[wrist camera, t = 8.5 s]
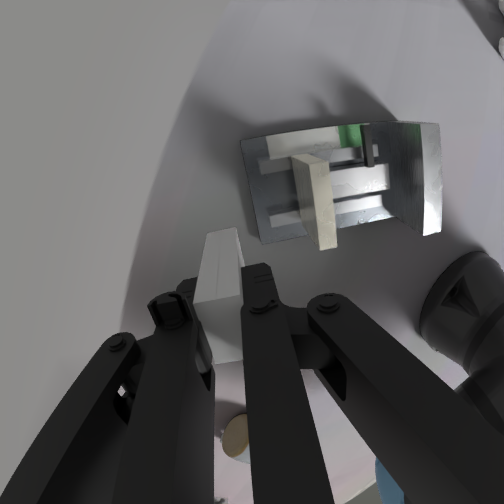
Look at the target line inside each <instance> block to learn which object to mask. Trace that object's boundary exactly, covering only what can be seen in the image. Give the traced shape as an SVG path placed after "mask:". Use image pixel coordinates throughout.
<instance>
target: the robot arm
mask: <svg viewBox="0 0 504 504" xmlns="http://www.w3.org/2000/svg"><path fill="white" fill-rule="evenodd" d="M147 307H148V309H149V311H150V314H151V316H152V318H153V320H154V323H155V325H156V328H155V331H154V334H153V335H151V336H149V337H146V338H143V339H141V340H138V341H136V339H135V337H134V336H133V335H132V334H131V333H128V332H123V333H117V334H115V335H112V336H111V337H110V338H108V339H107V340H106V341H105V342H104V343H103V344H102V345H101V347H100V348H99V350H98V351H97V352H96V353H95V355H94V356H93V357H92V359H91V360H90V361H89V363H88V364H87V366H86V367H85V368H84V369H83V371H82V372H81V373H80V375H79V376H78V377H77V379H76V380H75V382H74V383H73V384H72V386H71V387H70V389H69V390H68V391H67V393H66V394H65V396H64V397H63V398H62V400H61V401H60V403H59V404H58V406H57V407H56V409H55V410H54V411H53V413H52V414H51V416H50V417H49V419H48V420H47V422H46V423H45V425H44V426H43V428H42V429H41V431H40V432H39V434H38V435H37V437H36V438H35V440H34V442H33V443H32V445H31V446H30V448H29V450H28V451H27V452H26V454H25V456H24V457H23V459H22V461H21V462H20V464H19V465H18V467H17V469H16V471H15V472H14V474H13V475H12V478H11V479H10V481H9V482H8V484H7V486H6V488H5V489H4V491H3V493H2V495H1V497H0V504H214V407H215V372H214V369H213V366H212V364H211V362H212V356H213V359H214V361H215V364H222V363H228V362H234V361H240V360H243V365H244V381H245V395H246V410H247V424H248V438H249V451H250V464H251V476H252V488H253V500H254V504H335V503H334V499H333V495H332V490H331V486H330V482H329V478H328V474H327V470H326V467H325V463H324V459H323V455H322V451H321V447H320V443H319V439H318V435H317V431H316V428H315V424H314V420H313V416H312V412H311V408H310V405H309V401H308V397H307V393H306V390H305V386H304V382H303V378H302V375H301V371H300V369H313V370H314V372H315V374H316V375H317V377H318V378H319V380H320V381H321V382H322V384H323V385H324V387H325V388H326V389H327V391H328V392H329V393H330V395H331V396H332V398H333V399H334V400H335V402H336V403H337V404H338V406H339V407H340V408H341V410H342V411H343V413H344V414H345V415H346V417H347V418H348V419H349V421H350V422H351V423H352V425H353V426H354V427H355V429H356V430H357V431H358V433H359V434H360V436H361V437H362V438H363V440H364V441H365V442H366V444H367V445H368V446H369V448H370V449H371V450H372V452H373V453H374V454H375V456H376V461H375V467H376V468H375V473H376V481H377V486H378V491H379V494H380V497H381V500H382V503H383V504H504V272H503V270H502V268H501V266H500V265H499V263H498V262H497V261H496V260H494V259H493V258H491V257H490V256H489V255H487V254H486V253H483V252H472V253H469V254H466V255H464V256H463V257H461V258H459V259H458V260H457V261H455V262H454V263H453V264H452V265H451V266H450V267H449V268H448V269H447V270H446V271H445V272H444V273H443V274H442V275H441V276H440V278H439V279H438V280H437V282H436V283H435V285H434V286H433V288H432V289H431V291H430V293H429V295H428V297H427V299H426V301H425V303H424V306H423V309H422V312H421V317H420V332H421V335H422V337H423V338H424V340H425V341H426V342H427V343H428V345H429V346H430V347H431V348H432V349H433V350H434V351H436V352H438V353H442V354H444V355H445V356H447V357H448V358H450V359H451V360H453V361H454V362H456V363H458V364H459V365H461V366H462V367H463V369H464V370H465V371H466V372H467V374H468V375H469V377H468V378H467V379H466V380H465V381H464V382H463V383H462V384H460V385H459V386H458V387H457V388H456V389H454V390H453V389H451V388H450V387H449V386H448V385H447V384H446V383H445V382H444V381H443V380H441V379H440V378H439V377H438V376H437V375H436V374H435V373H434V372H432V371H431V370H430V369H429V368H428V367H427V366H426V365H425V364H423V363H422V362H421V361H420V360H419V359H418V358H417V357H415V356H414V355H413V354H412V353H411V352H410V351H409V350H407V349H406V348H405V347H404V346H403V345H402V344H401V343H399V342H398V341H397V340H396V339H395V338H394V337H392V336H391V335H390V334H389V333H388V332H387V331H385V330H384V329H383V328H382V327H381V326H380V325H378V324H377V323H376V322H375V321H374V320H373V319H371V318H370V317H369V316H368V315H367V314H365V313H364V312H363V311H362V310H361V309H360V308H358V307H357V306H356V305H355V304H354V303H352V302H351V301H350V300H349V299H348V298H346V297H344V296H343V295H340V294H335V293H329V294H322V295H319V296H316V297H315V298H313V299H311V300H310V302H309V303H308V304H307V308H293V307H289V306H286V305H284V304H283V303H282V302H281V301H280V299H279V296H278V293H277V289H276V285H275V282H274V278H273V275H272V271H271V268H270V266H268V265H267V264H265V263H260V264H255V265H250V266H245V264H244V260H243V256H242V251H241V247H240V243H239V238H238V234H237V229H236V227H233V228H228V229H223V230H219V231H214V232H210V233H207V237H206V241H205V246H204V250H203V255H202V260H201V265H200V270H199V275H198V277H196V278H191V279H186V280H183V281H182V282H181V283H180V284H179V285H178V287H177V289H176V291H173V292H167V293H164V294H161V295H159V296H157V297H155V298H154V299H153V300H151V301H150V303H149V304H148V305H147ZM121 385H122V387H123V388H124V390H125V391H126V392H125V393H124V395H123V396H122V397H121V396H120V395H119V393H118V392H117V391H118V390H119V388H120V386H121Z"/></svg>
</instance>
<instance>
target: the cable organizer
mask: <svg viewBox="0 0 504 504" xmlns="http://www.w3.org/2000/svg"><path fill="white" fill-rule="evenodd" d="M499 9H500V11H501V12H502V14H503V15H504V0H499ZM499 52H500V53H501V56H502V58H503V59H504V37H502V38H500V41H499Z"/></svg>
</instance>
